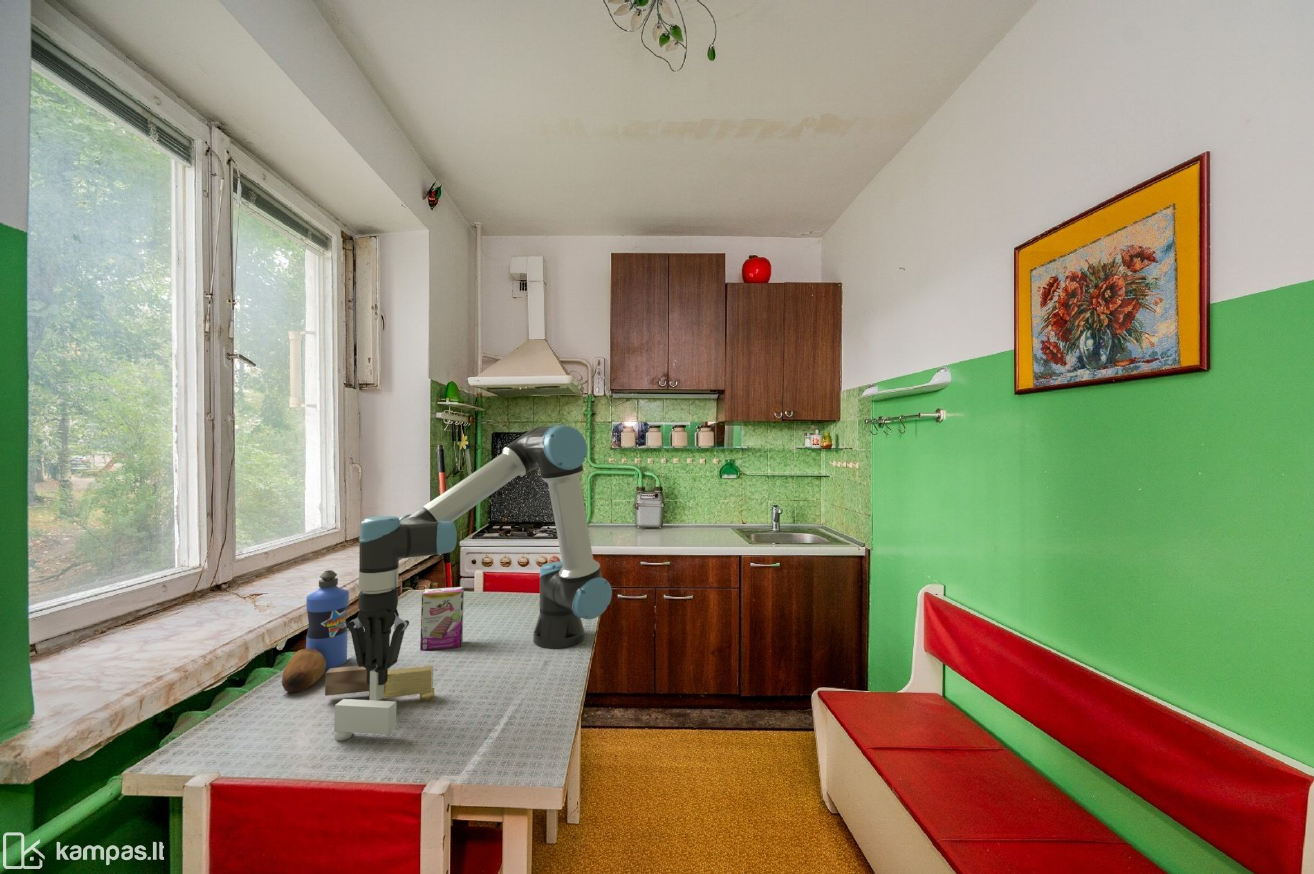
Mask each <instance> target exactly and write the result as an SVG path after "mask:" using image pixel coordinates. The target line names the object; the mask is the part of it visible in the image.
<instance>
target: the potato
mask: <svg viewBox="0 0 1314 874" xmlns="http://www.w3.org/2000/svg"><path fill="white" fill-rule="evenodd" d="M325 668H326V661H325V659H324V657H323V655H322V654H321V653H320V652H319V651H317V650H316V649H308V648H306V647H304V648H302V649H299V650H297V651H295V652H294V654H293V655H292V656H291V657H290V659H289V661H288V662H287V663H286V665H285V668H284V670H283V673H282V678H281V685H282V687H283V689H284V691H285V692H286V693H288V694H292V693H298V692H302V691H305V690H306V689H308V688H310V687H311V686H314V684H315V683H317V682H318V681H319V680H320V679H321V677H322V676H323V675H324V674H323V673H324V672H325Z"/></svg>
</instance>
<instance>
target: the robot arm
mask: <svg viewBox="0 0 1314 874" xmlns="http://www.w3.org/2000/svg"><path fill="white" fill-rule="evenodd" d="M587 455H588V443H587V441H586V438H585V437H584V435H583V433H581V431H579V430H578V429H577V428H575V427H573V426H570V425H563V424H557V425H547V426H546V425H545V426H537V427H534V428H532V429H530V430H528V431H526V432H525V433H524V434H522V435H521V436H519V437H517V438H516V439H515V440H513V441H512V442H510V443H509V444H508V445H506V446H504V447H503V448H502V451H501V454H499V455H497V456H496V457H494V458H493V459H492V460H490V461H489V462H487V463H486V464H484V465H483V466H482V467H480V468H478V469H476V470H475V471H474V472H472V473H471V474H470V475H468V476H467V477H465V478H463V479H462V480H461V481H459V482H457V483H456V484H455V485H453V486H452V487H450V488H449V489H447V490H446V491H444V492H443V493H441V494H440V495H438V496H437V497H435V498H434V499H433V500H431V501H430V502H428V503H427V504H425V505H423V506H422V507H420V508H419V509H418V510H416V511H415V512H413V513H409V514H405V515H402V516H401V517H400V518H399V517H398V516H395V515H382V516H381V515H379V516H371V517H367V518H364V519H363V520H362V521H361V524H360V530H359V539H358V542H359V546H358V547H359V551H358V552H359V553H358V554H359V560H358V561H359V564H358V565H359V567H358V568H359V569H358V589H359V590H360V591H359V592H358V605H357V606H358V610H359V611H358V614H357V617H356V618H354V619H352V620H351V621H349V622H346V624H347V630H349V632H350V634H351V639H352V644H353V649H354V654H355V659H356V663H357V666H359V667H364V668H366V670H367V685H370V698H369V700H374V701H381V699H383V698H382V697H384V684H385V683H386V682H387V680H388V670H389V669H390V668H391V667H392V666H394V665H395V664H396V663H397V662H398V661H399V655H400V653H401V652H400V651H401V648H402V642H403V639H404V636H405V632H406V630H407V628H408V626H409V625H410V621H409V620H408V619H406V620H403V619H402V618H400V617H399V616H400V614H399V612H398V604H399V588H398V587H397V586H398V585H399V569H400V568H399V567H400V566H399V561H400V560H401V559H409V558H416V557H417V558H419V557H425V556H427V557H429V556H435V555H438V556H441V555H442V554H447V553H451V552H453V551H454V550H455V548H456V545H457V541H458V540H457V539H458V535H457V534H458V533H457V529H456V525H455V524H454V521H456V520H457V519H459V518H460V517H462V516H463V515H464V514H466V513H467V512H468V511H470V510H472V509H473V508H475V506H477V505H478V504H480V503H481V502H483V501H484V500H486V499H487V498H488V497H490V496H491V495H492V494H494V493H495V492H497V491H498V490H499V489H501V488H502V487H504V486H506V484H508V483H509V482H511V480H513V479H515V478H516V477H517V476H522V477H523V476H526V474H528V473H530V472H531V471H533V470H536V469H539V474H540V479H541V480H542V481H544V482H545V483H547V486H548V490H549V491H548V492H549V496H550V497H549V498H550V504H551V508H552V513H553V519H554V523H555V525H554V526H555V530H556V535H557V542H558V546H559V552H560V557H561V560H560V561H559V560H558V561H552V562H547V563H544V564H542V566H541V567H540V570H539V571H540V572H539V615H538V618H537V621H536V624H535V627H534V631H533V634H532V635H533V636H532V638H533V640H532V641H533V644H535V645H536V646H537V647H541V648H547V649H562V648H568V647H573V646H575V645H578V644H580V643H582V641H583V640H585V628H584V625H583V624H584V623H583V622H582V619H584V620H595V619H597V618H598V617H600V616H601V615H603V613H604V612H605V611H606V610H607V607H608V606H609V605H610V603H611V600H612V597H613V596H612V595H613V590H612V587H611V584H610V583H609V581H608V580H607V579H606V578H604V577H603V575H602V571H601V565H600V562H598V561H597V560H595V559H594V555H593V549H592V545H591V544H592V543H591V539H590V533H589V527H588V521H587V516H586V510H585V509H586V508H585V505H584V498H583V493H582V486H581V481H580V477H581V475H582V474H583V473H584V466H583V463H584V462H585V458H586V457H587ZM392 627H393V628H392ZM392 629H393V632H392ZM391 633H392V635H391ZM390 636H391V640H390ZM376 665H377V667H376Z"/></svg>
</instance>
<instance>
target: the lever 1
mask: <svg viewBox="0 0 1314 874" xmlns="http://www.w3.org/2000/svg"><path fill="white" fill-rule="evenodd" d="M376 667H377V665H376ZM324 677H325V683H324V684H325V685H324V687H325V688H324V693H325V694H324V695H325V696H326V697H328V696H335V695H338V696H339V695H345V694H355V693H364V692H365V693H366V692H368V697H369V699H370V685H367V670H366V668H364V667H359V666H358V665H353V666H341V667H340V666H338V667H335V668H330V669H329V670H328V671H327V672H326V673H325V676H324Z"/></svg>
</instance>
